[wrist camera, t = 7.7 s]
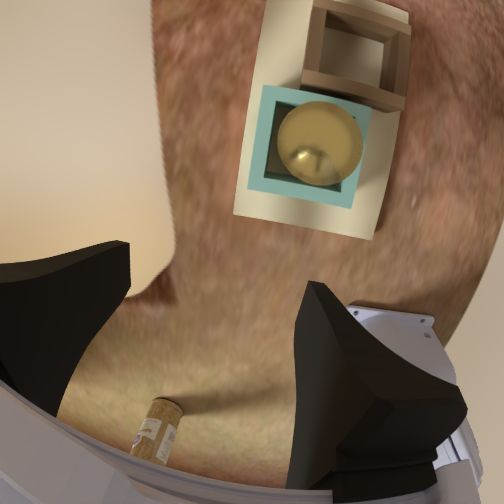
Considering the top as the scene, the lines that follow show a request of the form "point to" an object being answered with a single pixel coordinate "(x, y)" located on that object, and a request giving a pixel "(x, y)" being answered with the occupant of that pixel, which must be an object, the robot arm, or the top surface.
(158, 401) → the spice jar
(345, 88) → the mount
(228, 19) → the top surface
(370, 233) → the board
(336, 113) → the pin
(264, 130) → the socket
